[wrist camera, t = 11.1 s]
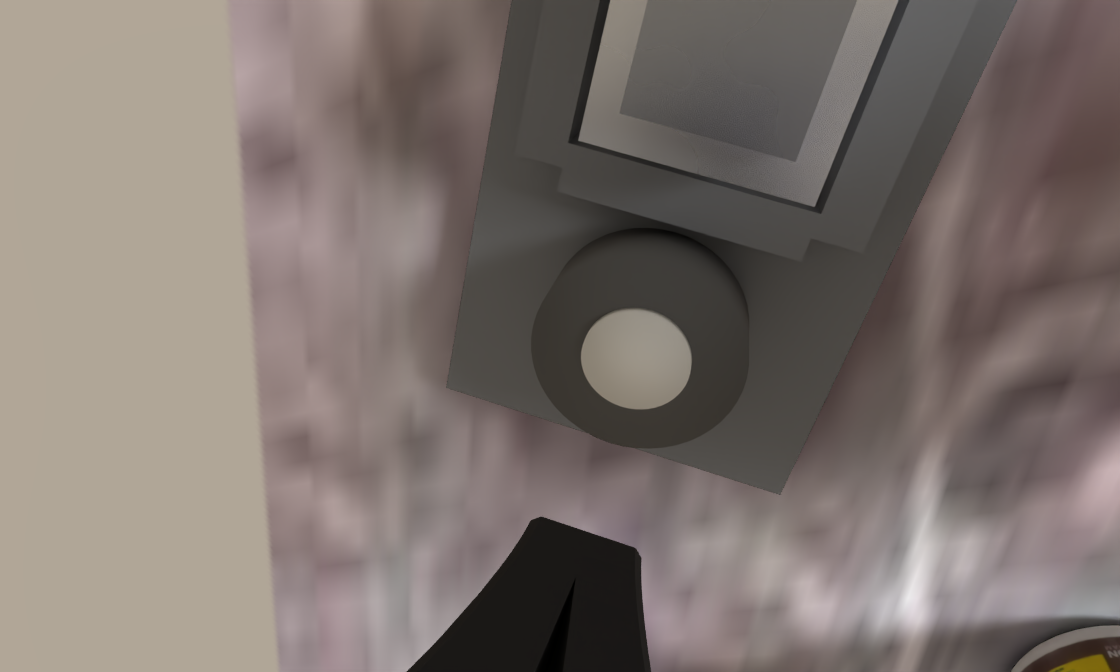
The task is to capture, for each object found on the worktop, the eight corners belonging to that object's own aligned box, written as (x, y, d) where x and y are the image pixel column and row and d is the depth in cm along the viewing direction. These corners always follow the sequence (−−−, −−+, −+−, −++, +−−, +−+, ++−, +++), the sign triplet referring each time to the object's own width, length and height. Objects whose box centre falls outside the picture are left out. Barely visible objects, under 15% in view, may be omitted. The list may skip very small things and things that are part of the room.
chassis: (1101, -218, 12) (1177, -257, 10) (778, 471, 19) (782, 534, 17) (583, -329, 13) (549, -388, 11) (459, 369, 20) (424, 417, 18)
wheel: (779, 262, 15) (783, 296, 13) (712, 432, 17) (708, 479, 15) (572, 202, 15) (553, 229, 14) (532, 375, 17) (510, 416, 16)
